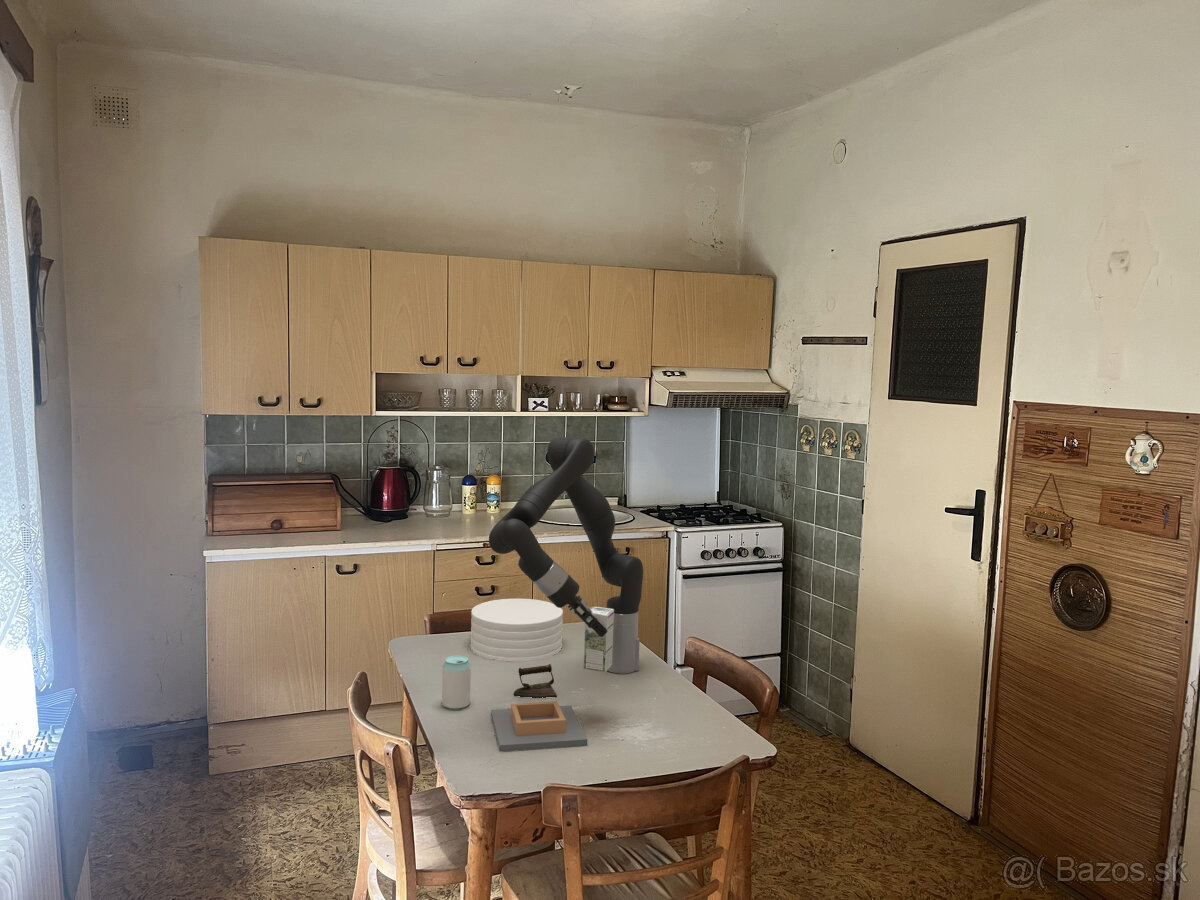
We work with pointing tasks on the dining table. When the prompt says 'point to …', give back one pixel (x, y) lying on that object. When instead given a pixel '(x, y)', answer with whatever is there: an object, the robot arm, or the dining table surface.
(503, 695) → the dining table surface
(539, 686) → the clothes iron
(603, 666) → the syrup box
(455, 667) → the can
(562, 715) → the collar stand
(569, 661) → the dining table surface
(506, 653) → the plate stack
